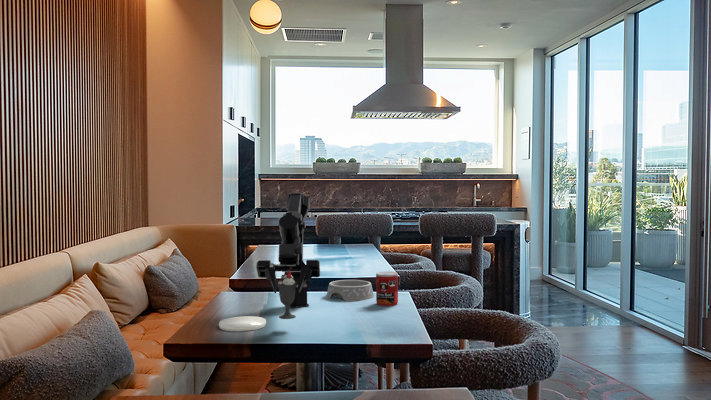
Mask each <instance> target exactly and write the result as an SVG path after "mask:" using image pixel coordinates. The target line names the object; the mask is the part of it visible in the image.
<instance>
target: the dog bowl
mask: <svg viewBox="0 0 711 400" xmlns="http://www.w3.org/2000/svg"><path fill="white" fill-rule="evenodd" d="M327 287H328V288H327V293H326V298H327V299H331V296H332V295H333V297H335V298H339V299H343V301H344V302H358V301H359V302H360V301H367V300H371V299H373V298H374V297H375V293H374V290H373V287H372V283H371V282H370V281H368V280H362V279H341V280H335V281H334V280H333V281H331V282H329V284H328V286H327Z"/></svg>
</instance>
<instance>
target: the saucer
mask: <svg viewBox="0 0 711 400" xmlns="http://www.w3.org/2000/svg"><path fill="white" fill-rule="evenodd" d="M266 325H267V319H266V318H264V317H260V316H255V315H252V316H251V315H248V316H247V315H246V316H245V315H244V316H242V315H241V316H234V317H229V318H224V319H221V320H220V321H219V322H218V327H219V329H220V330H223V331H226V332H250V331H255V330H259V329H263V328H264V327H266Z"/></svg>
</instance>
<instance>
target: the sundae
mask: <svg viewBox="0 0 711 400" xmlns="http://www.w3.org/2000/svg"><path fill="white" fill-rule="evenodd" d="M290 269H292V267H290ZM290 269H289V271H290ZM298 284H299V283H298V282H295V281H294V279H293V276H292V275H291V272H287V273H286V274H281V277H280V280H279V281H276V287H277V288H278V295H279V299H280V303H282V305H284V307H285V309H284V311H285V312H284V313H283V314H281V315H279V317H278V318H279V319H281V320H290V319H295V318H296V315H295V314H292V313H291V311H290V304H292V303H293V301H294V297H295V289H296V286H297V285H298Z"/></svg>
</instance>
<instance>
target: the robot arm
mask: <svg viewBox="0 0 711 400" xmlns="http://www.w3.org/2000/svg"><path fill="white" fill-rule="evenodd" d="M310 202H311V201H310V197H309V196H306V195H305V194H304V193H302V192H290V193H288V196H286V197H285V209H286V211H287V212H285V213H283V215H282V216H281V217H280V219H279V220H278V224H277V225H278V226H277V227H278V231H279V234H280V237H281V243H280V244H278V264H276V263H275V264H274V263H273V262H271V259H260V260H258V261H257V262H256V265H255V267H256V272H257V277H258V278H261V279H266V280H267V281H269V282H270V283H271V285H272V289H273V293H274V294H276V293H277V285H276V282H277V276H276V275H277V274H276V272H282V273H284V274H286V273H287V272H291V275H292V276H293V279H294V281H295V282H298V283H299V284H298V285H297V286H296V289H295V297H294V301H293V303H292V304H290V306H289V308H292V309H294V308H301V307H309V306H310V304H309V303H308V290H309V289H312V278H320V277H321V264H320V261H319V259H306V261H304V260H303V259H304V232H305V229H306V228H307V223H306V222H305V221H306V219H307V217H308V216H309V210H310V209H311V208H310V207H311V206H310V204H311V203H310ZM305 262H306V263H305ZM290 267H292V269H290ZM289 269H290V271H289ZM284 274H283V275H284Z"/></svg>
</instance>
